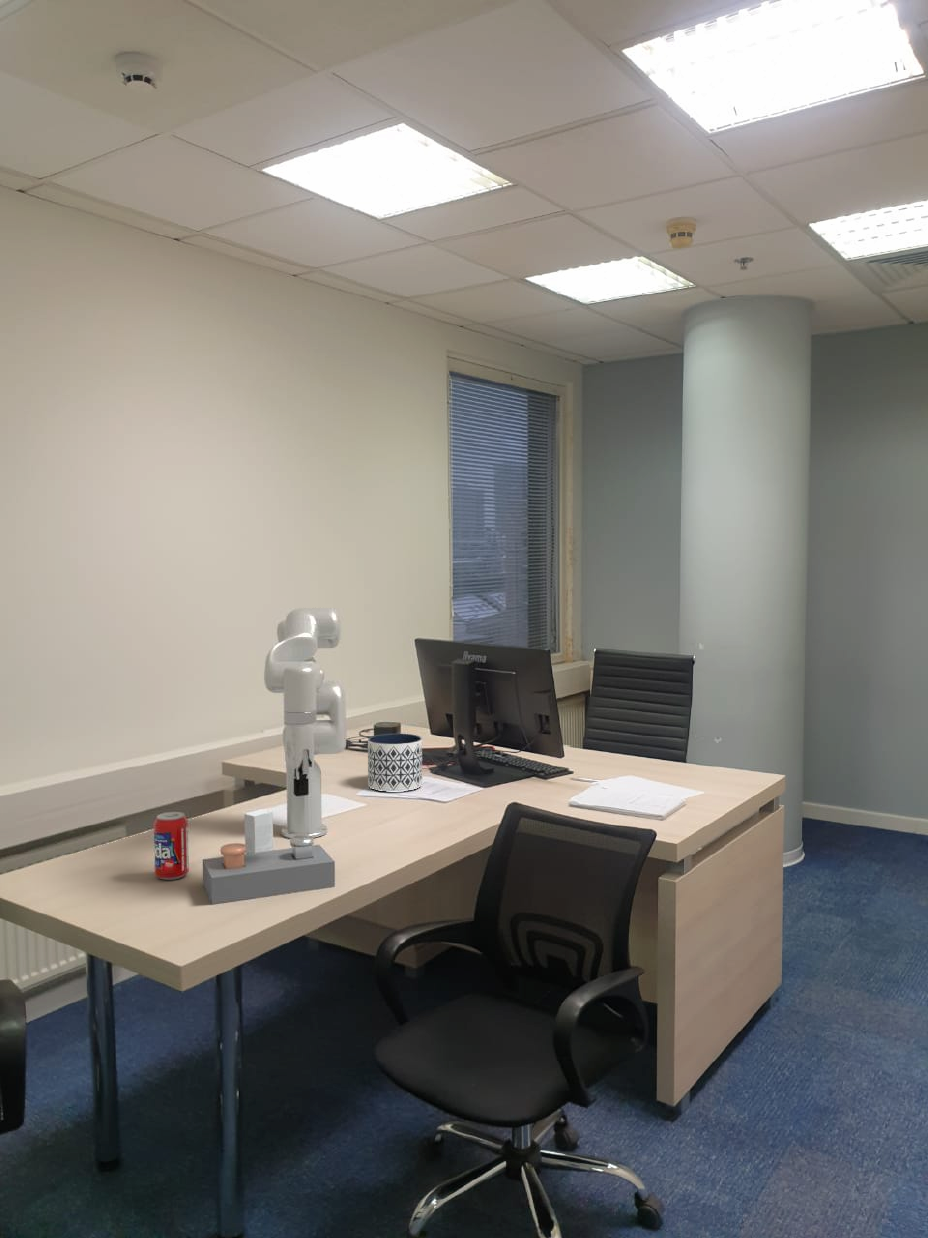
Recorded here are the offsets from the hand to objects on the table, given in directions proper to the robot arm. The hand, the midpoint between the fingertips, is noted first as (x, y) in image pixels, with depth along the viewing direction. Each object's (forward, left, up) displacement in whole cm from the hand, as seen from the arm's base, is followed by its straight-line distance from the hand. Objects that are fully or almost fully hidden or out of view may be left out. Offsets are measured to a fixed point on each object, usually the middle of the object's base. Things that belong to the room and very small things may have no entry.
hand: (301, 794), depth 220 cm
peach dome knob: (0, -16, -17) cm, 23 cm away
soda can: (-16, -28, -21) cm, 38 cm away
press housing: (0, -8, -21) cm, 22 cm away
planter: (-78, +51, -21) cm, 96 cm away
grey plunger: (0, 0, -17) cm, 17 cm away
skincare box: (-21, -6, -21) cm, 30 cm away
